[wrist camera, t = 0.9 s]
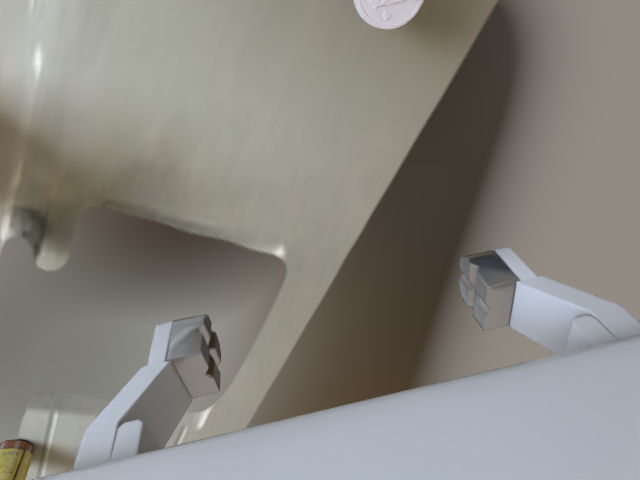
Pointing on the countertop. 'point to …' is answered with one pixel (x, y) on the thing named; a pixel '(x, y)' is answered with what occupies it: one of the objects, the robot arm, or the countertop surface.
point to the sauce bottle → (15, 459)
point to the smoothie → (387, 12)
